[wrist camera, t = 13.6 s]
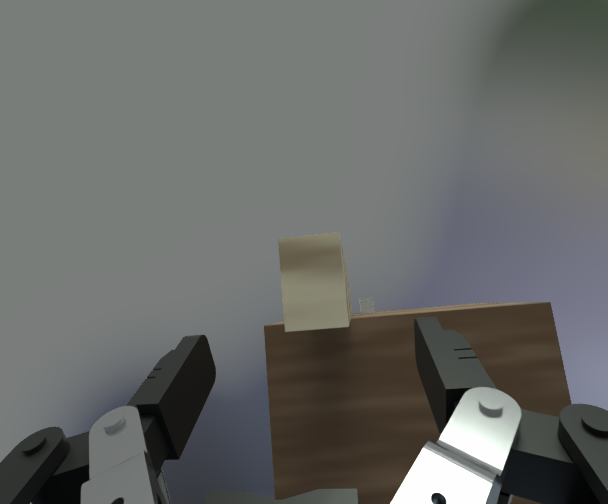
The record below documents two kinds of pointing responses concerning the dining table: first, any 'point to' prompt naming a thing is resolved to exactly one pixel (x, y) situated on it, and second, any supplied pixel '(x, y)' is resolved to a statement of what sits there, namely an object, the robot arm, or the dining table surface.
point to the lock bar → (314, 282)
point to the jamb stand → (391, 391)
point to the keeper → (367, 306)
